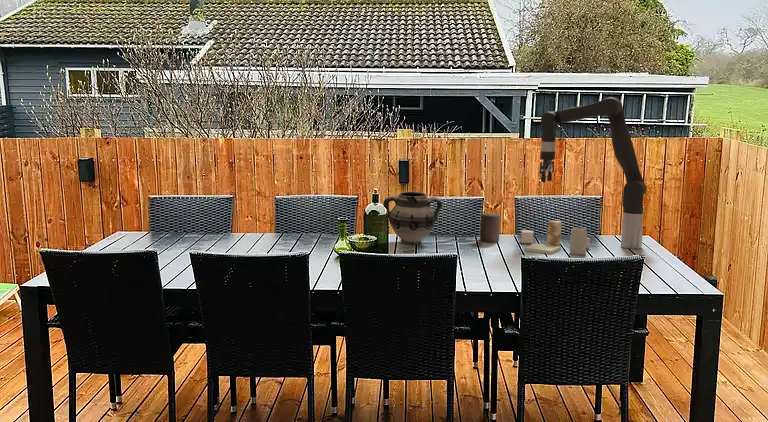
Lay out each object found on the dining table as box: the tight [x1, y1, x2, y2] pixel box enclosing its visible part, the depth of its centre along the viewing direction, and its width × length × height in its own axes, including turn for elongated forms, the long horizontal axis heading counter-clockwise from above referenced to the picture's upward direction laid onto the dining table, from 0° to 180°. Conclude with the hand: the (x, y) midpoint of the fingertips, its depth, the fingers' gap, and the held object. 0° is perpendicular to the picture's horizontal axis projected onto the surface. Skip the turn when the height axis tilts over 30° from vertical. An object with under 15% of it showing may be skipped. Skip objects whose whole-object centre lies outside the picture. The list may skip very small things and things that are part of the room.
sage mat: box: [524, 243, 562, 255], centre depth 328 cm, size 13×13×2 cm
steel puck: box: [586, 237, 591, 251], centre depth 334 cm, size 6×6×5 cm
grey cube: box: [520, 229, 534, 244], centre depth 348 cm, size 6×6×6 cm
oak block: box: [546, 219, 563, 247], centre depth 340 cm, size 5×5×12 cm
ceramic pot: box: [382, 190, 443, 246], centre depth 337 cm, size 29×23×25 cm
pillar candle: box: [479, 211, 501, 244], centre depth 347 cm, size 10×10×15 cm
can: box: [569, 227, 588, 256], centre depth 321 cm, size 8×8×12 cm
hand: (546, 181), depth 359 cm, fingers open, 8 cm apart
